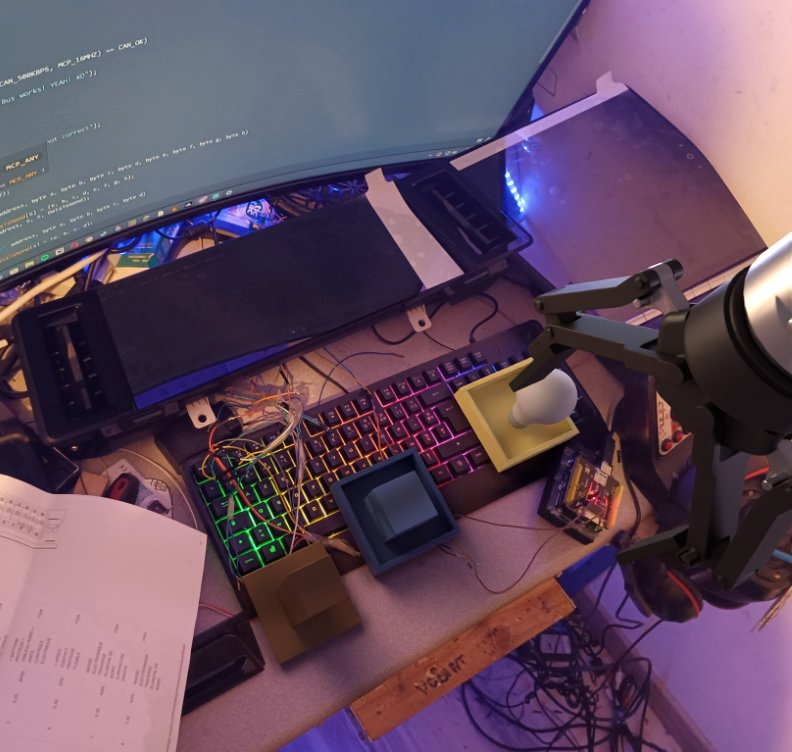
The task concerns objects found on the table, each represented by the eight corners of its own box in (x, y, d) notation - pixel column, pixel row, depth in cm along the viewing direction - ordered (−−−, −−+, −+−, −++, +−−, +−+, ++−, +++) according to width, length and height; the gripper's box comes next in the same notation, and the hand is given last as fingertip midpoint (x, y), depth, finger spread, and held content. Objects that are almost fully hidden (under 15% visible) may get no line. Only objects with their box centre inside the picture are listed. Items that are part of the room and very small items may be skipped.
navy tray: (453, 536, 77) (462, 532, 75) (372, 577, 74) (378, 573, 72) (408, 453, 80) (414, 446, 78) (328, 489, 78) (332, 483, 75)
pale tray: (568, 439, 84) (579, 432, 81) (497, 473, 81) (507, 467, 78) (522, 365, 87) (531, 356, 85) (452, 396, 84) (460, 387, 82)
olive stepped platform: (358, 623, 72) (389, 611, 61) (278, 664, 70) (295, 660, 59) (319, 541, 75) (341, 516, 64) (241, 578, 73) (250, 558, 62)
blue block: (423, 524, 77) (438, 514, 72) (383, 544, 75) (396, 534, 71) (401, 482, 78) (414, 470, 74) (361, 501, 77) (372, 489, 72)
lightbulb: (488, 440, 82) (529, 405, 72) (491, 391, 84) (532, 351, 74) (539, 451, 82) (588, 418, 72) (541, 403, 84) (588, 364, 74)
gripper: (589, 136, 34) (445, 335, 54) (963, 635, 27) (638, 658, 46) (703, 98, 36) (525, 302, 56) (1081, 551, 29) (722, 606, 48)
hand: (576, 463), depth 51 cm, fingers open, 13 cm apart
